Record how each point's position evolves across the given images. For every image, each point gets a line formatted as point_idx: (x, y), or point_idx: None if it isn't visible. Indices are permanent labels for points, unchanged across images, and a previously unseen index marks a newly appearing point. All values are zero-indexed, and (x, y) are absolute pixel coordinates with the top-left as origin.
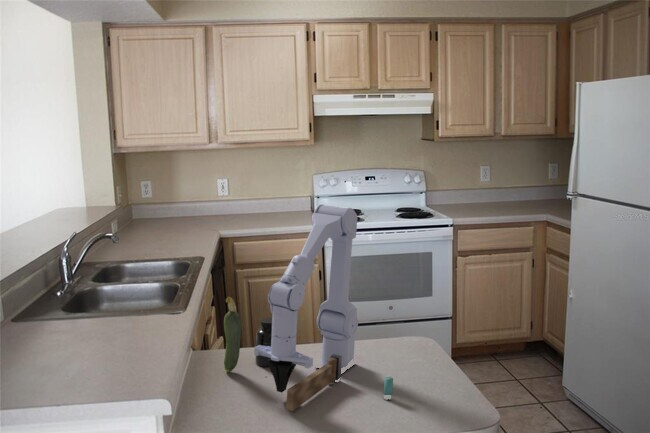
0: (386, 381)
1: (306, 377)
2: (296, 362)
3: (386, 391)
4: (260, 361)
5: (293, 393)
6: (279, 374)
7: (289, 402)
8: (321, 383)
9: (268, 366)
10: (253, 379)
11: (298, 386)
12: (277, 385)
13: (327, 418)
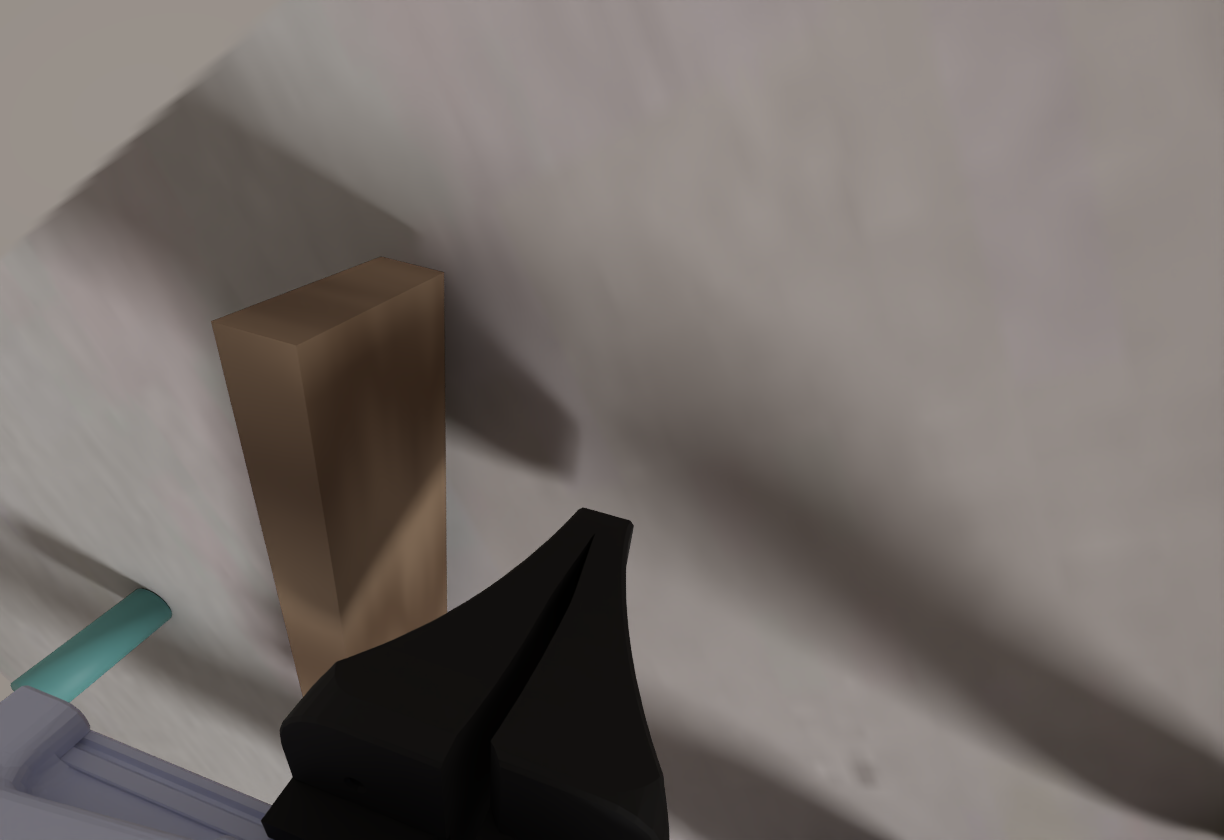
0: (38, 677)
1: (340, 657)
2: (198, 816)
3: (98, 627)
4: None
5: (233, 313)
6: (510, 639)
7: (366, 286)
8: None
9: (657, 770)
10: (962, 738)
11: (263, 466)
12: (600, 550)
13: (198, 303)
